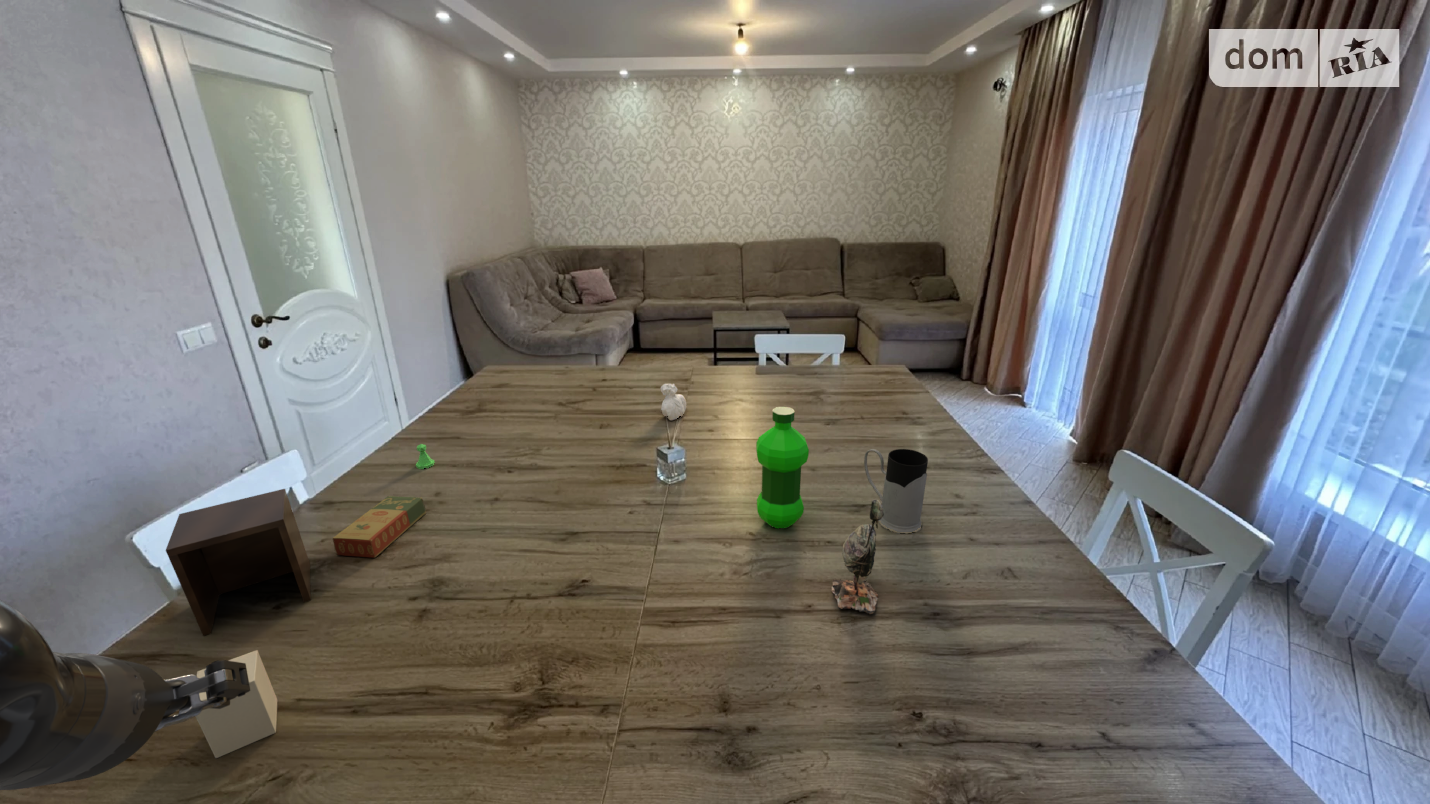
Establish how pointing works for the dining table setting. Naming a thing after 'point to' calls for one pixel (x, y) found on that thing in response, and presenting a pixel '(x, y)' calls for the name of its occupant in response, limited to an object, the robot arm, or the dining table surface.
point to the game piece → (423, 458)
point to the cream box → (241, 711)
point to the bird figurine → (859, 565)
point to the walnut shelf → (236, 550)
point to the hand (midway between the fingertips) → (162, 719)
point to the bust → (672, 402)
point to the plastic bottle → (781, 470)
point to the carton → (379, 526)
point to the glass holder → (902, 488)
